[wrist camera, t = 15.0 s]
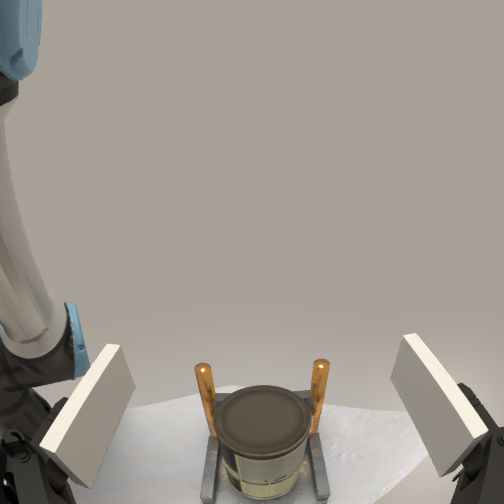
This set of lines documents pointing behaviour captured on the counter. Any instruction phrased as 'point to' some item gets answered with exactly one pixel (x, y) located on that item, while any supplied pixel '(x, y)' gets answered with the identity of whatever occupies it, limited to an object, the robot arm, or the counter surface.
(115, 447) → the counter surface
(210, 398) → the keeper bracket
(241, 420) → the coffee can
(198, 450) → the counter surface
